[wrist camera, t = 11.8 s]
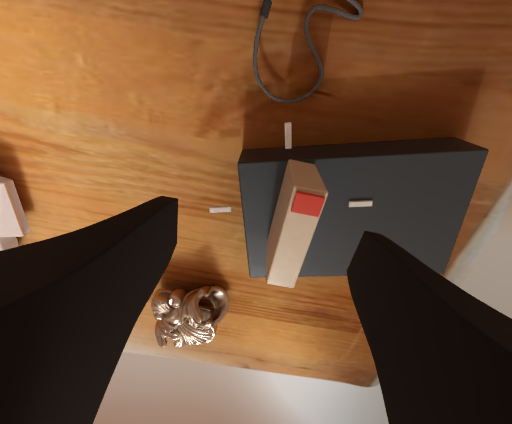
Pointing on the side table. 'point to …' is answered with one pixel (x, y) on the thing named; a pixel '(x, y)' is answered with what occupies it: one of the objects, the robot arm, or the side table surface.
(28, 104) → the side table surface
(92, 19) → the side table surface
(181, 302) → the ornament
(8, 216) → the toy rocket
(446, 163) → the panel
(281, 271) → the handle
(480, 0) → the side table surface
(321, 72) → the headphones
